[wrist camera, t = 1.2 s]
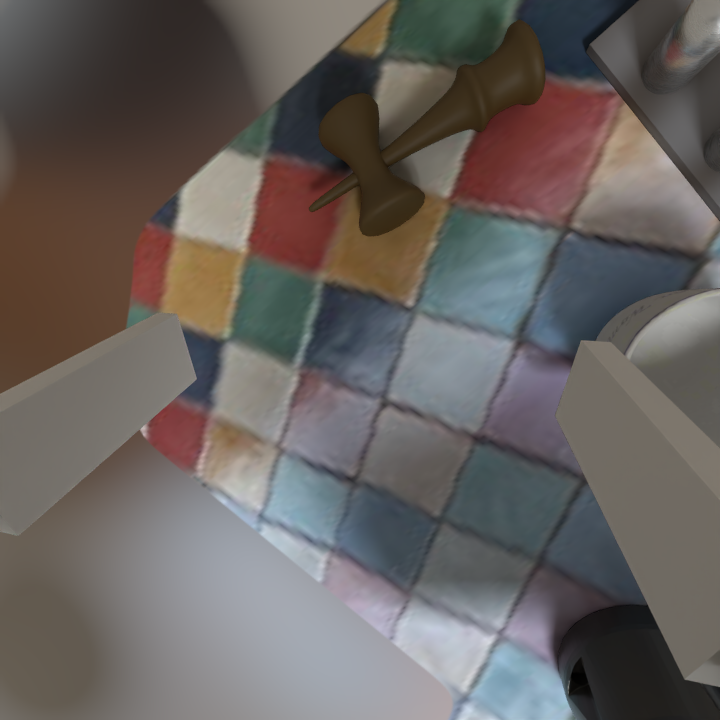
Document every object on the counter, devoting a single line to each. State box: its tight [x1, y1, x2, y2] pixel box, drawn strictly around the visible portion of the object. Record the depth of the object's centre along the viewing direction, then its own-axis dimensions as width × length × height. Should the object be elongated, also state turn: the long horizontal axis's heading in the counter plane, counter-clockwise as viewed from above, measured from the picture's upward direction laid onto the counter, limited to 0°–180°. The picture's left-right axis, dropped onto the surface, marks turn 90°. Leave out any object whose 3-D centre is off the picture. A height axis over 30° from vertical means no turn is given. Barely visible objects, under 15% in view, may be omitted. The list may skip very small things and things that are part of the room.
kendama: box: [309, 20, 545, 236], centre depth 27 cm, size 6×10×20 cm
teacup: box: [595, 288, 720, 448], centre depth 24 cm, size 14×11×8 cm
